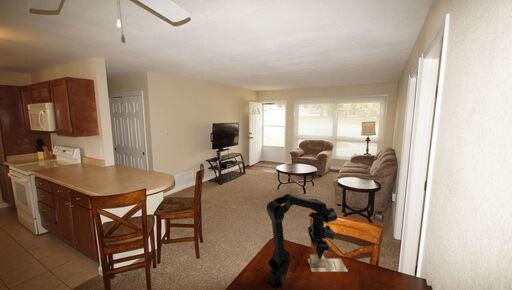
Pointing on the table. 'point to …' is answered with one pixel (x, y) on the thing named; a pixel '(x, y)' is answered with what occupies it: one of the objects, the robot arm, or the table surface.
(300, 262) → the table surface
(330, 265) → the board
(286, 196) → the robot arm
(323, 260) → the sanding block
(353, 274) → the table surface
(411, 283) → the table surface
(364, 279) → the table surface
